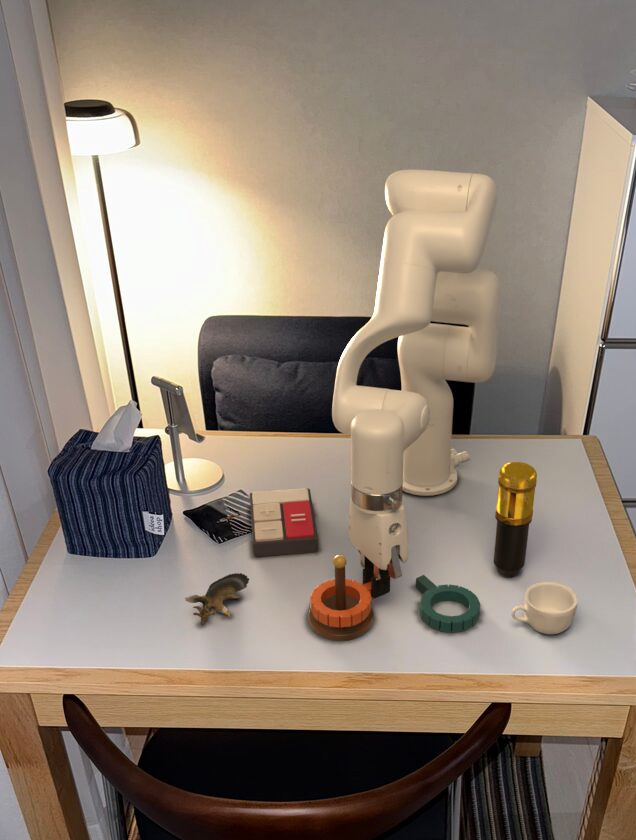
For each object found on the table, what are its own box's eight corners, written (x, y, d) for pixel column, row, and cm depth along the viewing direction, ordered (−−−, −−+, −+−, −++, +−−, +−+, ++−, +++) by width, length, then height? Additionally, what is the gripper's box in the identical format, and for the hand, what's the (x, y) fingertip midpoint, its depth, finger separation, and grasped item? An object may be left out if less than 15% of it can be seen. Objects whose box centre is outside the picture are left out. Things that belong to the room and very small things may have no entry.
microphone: (571, 570, 151) (586, 467, 140) (499, 586, 148) (509, 482, 137) (554, 550, 156) (568, 449, 145) (484, 565, 152) (493, 463, 142)
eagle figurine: (231, 631, 137) (260, 588, 143) (202, 598, 134) (232, 556, 140) (201, 636, 142) (230, 595, 148) (172, 604, 140) (203, 564, 145)
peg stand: (351, 590, 147) (350, 529, 140) (385, 625, 140) (386, 562, 133) (297, 613, 142) (293, 550, 136) (330, 650, 135) (328, 585, 129)
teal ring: (491, 618, 141) (492, 608, 140) (443, 640, 137) (444, 630, 136) (442, 576, 150) (442, 566, 149) (396, 595, 146) (396, 586, 145)
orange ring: (331, 635, 134) (330, 625, 133) (300, 601, 141) (299, 591, 140) (400, 605, 140) (401, 595, 139) (368, 574, 147) (368, 564, 145)
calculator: (252, 540, 152) (249, 488, 164) (254, 560, 155) (250, 507, 167) (317, 535, 154) (309, 484, 166) (318, 554, 156) (310, 503, 168)
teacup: (562, 605, 143) (566, 578, 141) (581, 637, 137) (586, 610, 134) (501, 613, 142) (504, 586, 139) (518, 646, 135) (521, 619, 133)
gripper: (429, 509, 129) (425, 609, 138) (368, 461, 140) (368, 557, 150) (385, 525, 125) (384, 627, 135) (327, 475, 137) (329, 572, 146)
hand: (376, 590), depth 142 cm, fingers closed on orange ring, 1 cm apart
